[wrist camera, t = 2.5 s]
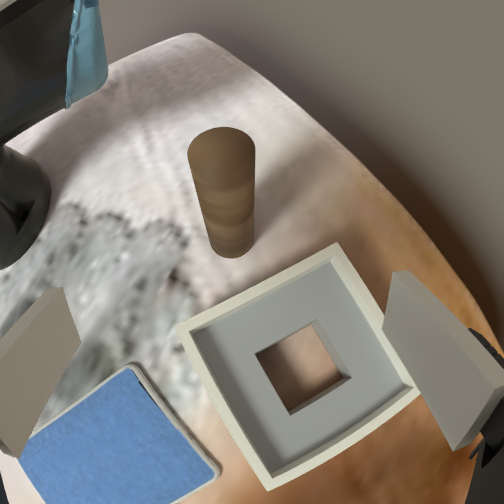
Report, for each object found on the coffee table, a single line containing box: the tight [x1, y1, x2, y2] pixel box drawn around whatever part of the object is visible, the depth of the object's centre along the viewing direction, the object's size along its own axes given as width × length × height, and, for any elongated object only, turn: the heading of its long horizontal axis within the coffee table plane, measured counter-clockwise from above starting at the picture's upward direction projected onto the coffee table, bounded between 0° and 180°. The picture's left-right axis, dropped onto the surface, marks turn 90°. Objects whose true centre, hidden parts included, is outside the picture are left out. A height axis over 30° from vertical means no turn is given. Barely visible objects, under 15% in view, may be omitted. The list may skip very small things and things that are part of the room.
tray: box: [174, 242, 421, 491], centre depth 22 cm, size 14×14×4 cm
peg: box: [187, 127, 255, 258], centre depth 23 cm, size 4×4×12 cm
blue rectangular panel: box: [16, 364, 220, 504], centre depth 20 cm, size 19×13×1 cm, turn 129°
